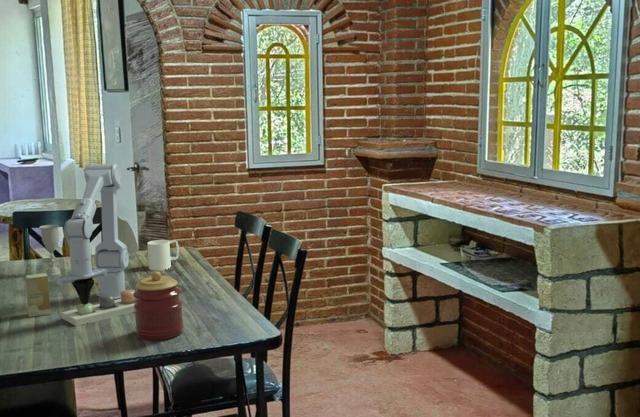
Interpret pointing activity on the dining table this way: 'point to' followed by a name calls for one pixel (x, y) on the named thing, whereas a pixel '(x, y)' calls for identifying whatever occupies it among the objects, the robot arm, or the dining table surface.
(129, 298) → the terracotta button
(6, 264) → the dining table surface
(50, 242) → the chalice
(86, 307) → the sage button
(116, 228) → the robot arm
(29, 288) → the skincare box
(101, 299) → the charcoal button
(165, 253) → the cup
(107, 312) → the panel
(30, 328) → the dining table surface
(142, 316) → the canister
